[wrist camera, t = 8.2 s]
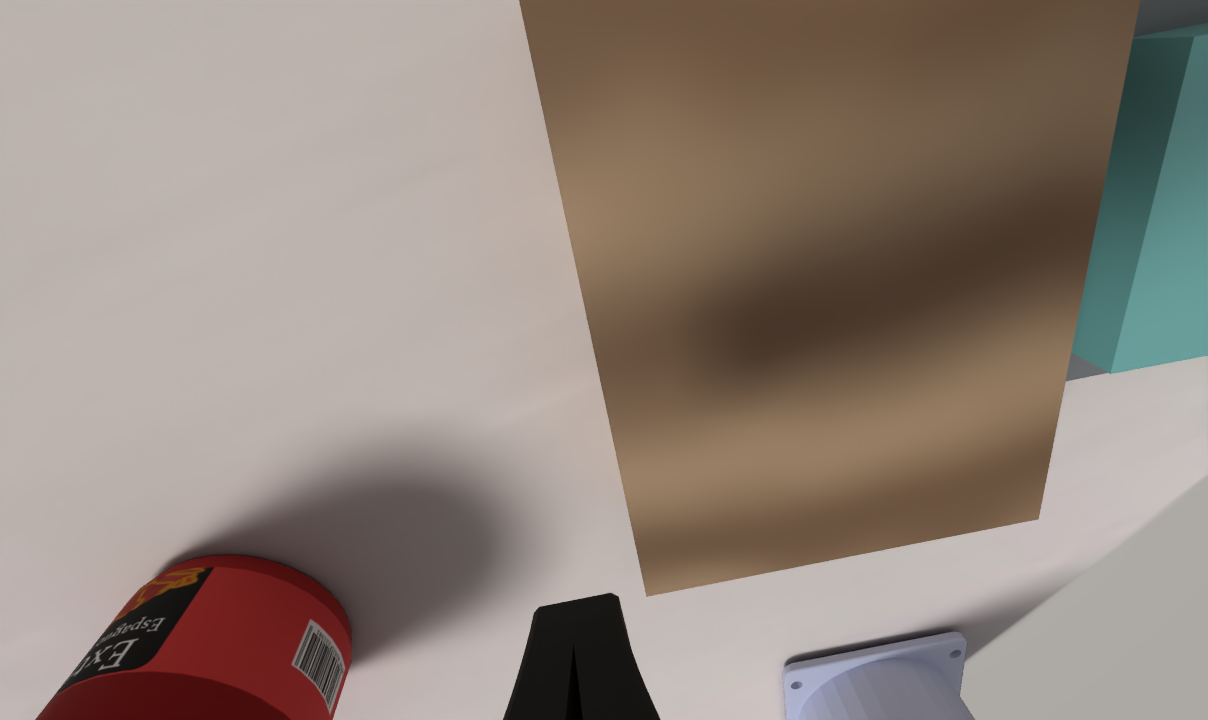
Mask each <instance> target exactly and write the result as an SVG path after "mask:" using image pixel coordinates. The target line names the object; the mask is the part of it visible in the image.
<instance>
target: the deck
mask: <svg viewBox="0 0 1208 720" xmlns="http://www.w3.org/2000/svg"><path fill="white" fill-rule="evenodd" d="M519 2H520V6H521V11H522V16H523V20H524V25H525V30H526V35H527V39H528V44H529V49H530V53H531V58H532V63H533V67H534V72H535V77H536V81H537V86H538V91H539V95H540V100H541V105H542V109H543V114H544V119H545V123H546V128H547V133H548V138H549V142H550V147H551V152H552V156H553V161H554V166H555V170H556V175H557V180H558V184H559V189H560V194H561V198H562V203H563V208H564V212H565V217H566V222H567V226H568V231H569V236H570V240H571V245H572V250H573V255H574V259H575V264H576V269H577V273H578V278H579V283H580V287H581V292H582V297H583V301H584V306H585V311H586V315H587V320H588V325H589V329H590V334H591V339H592V343H593V348H594V353H595V358H596V362H597V367H598V372H599V376H600V381H601V386H602V390H603V395H604V400H605V404H606V409H607V414H608V418H609V423H610V428H611V432H612V437H613V442H614V446H615V451H616V456H617V461H618V465H619V470H620V475H621V479H622V484H623V489H624V493H625V498H626V503H627V507H628V512H629V517H630V521H631V526H632V531H633V535H634V540H635V545H636V549H637V554H638V559H639V564H640V568H641V573H642V578H643V582H644V587H645V592H646V596H652V595H657V594H663V593H668V592H673V591H678V590H683V589H688V588H693V587H698V586H703V585H708V584H713V583H718V582H723V581H728V580H733V579H738V578H743V577H748V576H754V575H759V574H764V573H769V572H774V571H779V570H784V569H789V568H794V567H799V566H804V565H809V564H814V563H819V562H824V561H829V560H834V559H839V558H845V557H850V556H855V555H860V554H865V553H870V552H875V551H880V550H885V549H890V548H895V547H900V546H905V545H910V544H915V543H920V542H925V541H930V540H936V539H941V538H946V537H951V536H956V535H961V534H966V533H971V532H976V531H981V530H986V529H991V528H996V527H1001V526H1006V525H1011V524H1016V523H1021V522H1027V521H1032V520H1037V519H1039V514H1040V509H1041V504H1042V499H1043V493H1044V488H1045V483H1046V478H1047V473H1048V468H1049V463H1050V458H1051V453H1052V448H1053V442H1054V437H1055V432H1056V427H1057V422H1058V417H1059V412H1060V407H1061V402H1062V397H1063V392H1064V386H1065V381H1066V376H1067V371H1068V366H1069V361H1070V356H1071V351H1072V346H1073V341H1074V335H1075V330H1076V325H1077V320H1078V315H1079V310H1080V305H1081V300H1082V295H1083V290H1084V284H1085V279H1086V274H1087V269H1088V264H1089V259H1090V254H1091V249H1092V244H1093V239H1094V234H1095V228H1096V223H1097V218H1098V213H1099V208H1100V203H1101V198H1102V193H1103V188H1104V183H1105V177H1106V172H1107V167H1108V162H1109V157H1110V152H1111V147H1112V142H1113V137H1114V132H1115V127H1116V121H1117V116H1118V111H1119V106H1120V101H1121V96H1122V91H1123V86H1124V81H1125V76H1126V70H1127V65H1128V60H1129V55H1130V50H1131V45H1132V40H1133V35H1134V30H1135V25H1136V19H1137V14H1138V9H1139V4H1140V0H519Z"/></svg>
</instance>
